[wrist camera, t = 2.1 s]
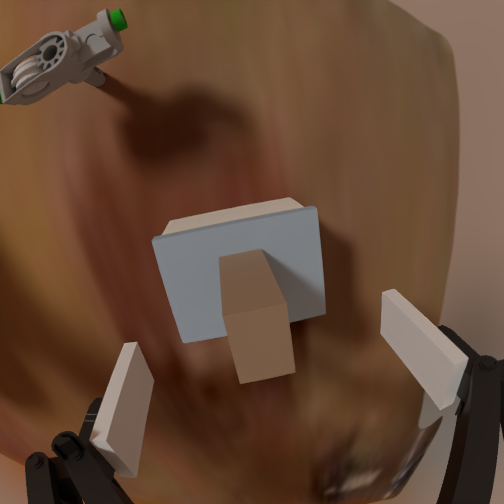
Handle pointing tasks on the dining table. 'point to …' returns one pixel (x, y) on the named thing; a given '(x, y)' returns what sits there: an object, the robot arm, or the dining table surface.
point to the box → (231, 214)
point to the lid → (246, 285)
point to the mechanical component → (63, 60)
